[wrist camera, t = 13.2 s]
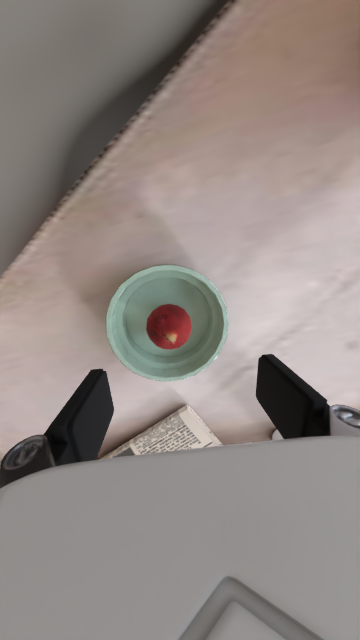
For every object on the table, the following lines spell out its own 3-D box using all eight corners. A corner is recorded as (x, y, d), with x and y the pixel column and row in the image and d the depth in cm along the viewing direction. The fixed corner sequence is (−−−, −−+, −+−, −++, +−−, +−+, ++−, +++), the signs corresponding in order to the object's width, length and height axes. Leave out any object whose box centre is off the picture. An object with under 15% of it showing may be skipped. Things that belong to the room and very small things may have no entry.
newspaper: (185, 400, 31) (187, 412, 29) (237, 462, 37) (243, 477, 34) (30, 498, 35) (19, 517, 32) (98, 541, 40) (93, 561, 37)
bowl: (108, 269, 24) (94, 269, 20) (217, 262, 25) (229, 261, 21) (124, 367, 29) (116, 386, 24) (217, 358, 30) (227, 375, 25)
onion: (147, 334, 27) (139, 360, 19) (150, 297, 25) (144, 309, 18) (184, 338, 28) (192, 365, 20) (190, 302, 26) (201, 316, 18)
